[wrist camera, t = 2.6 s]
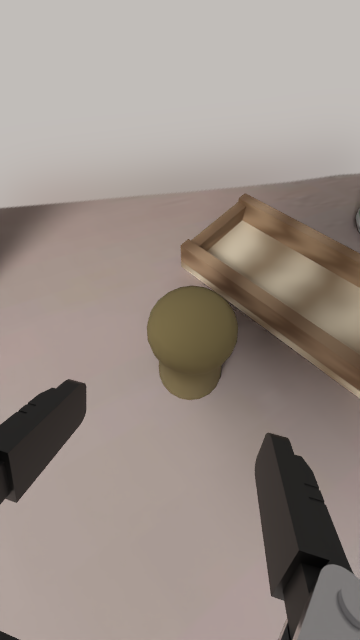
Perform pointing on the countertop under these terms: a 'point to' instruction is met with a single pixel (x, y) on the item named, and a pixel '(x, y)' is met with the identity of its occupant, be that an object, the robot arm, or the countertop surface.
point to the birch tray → (285, 283)
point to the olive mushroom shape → (191, 339)
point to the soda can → (358, 220)
